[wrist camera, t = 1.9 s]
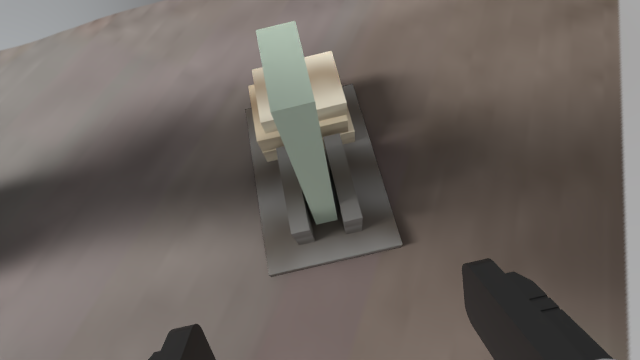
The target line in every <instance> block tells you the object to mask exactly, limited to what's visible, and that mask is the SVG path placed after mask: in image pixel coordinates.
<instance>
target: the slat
mask: <svg viewBox="0 0 640 360" xmlns="http://www.w3.org/2000/svg"><path fill="white" fill-rule="evenodd" d="M256 34H257V39H258V45H259V51H260V56H261V62H262V67H263V73H264V79H265V84H266V90H267V95H268V101H269V107H270V112H271V115H272V117H273V119H274V122H275V124H276V127H277V129H278V132H279V134H280V137H281V139H282V142H283V144H284V146H285V149H286V151H287V154H288V156H289V159H290V161H291V164H292V166H293V169H294V171H295V173H296V176H297V178H298V181H299V183H300V186H301V188H302V191H303V193H304V196H305V198H306V200H307V203H308V205H309V208H310V210H311V213H312V215H313V218H314V220H315V223H316V225H317V224H322V223H326V222H330V221H335V220H338V219H337V214H336V208H335V203H334V198H333V193H332V188H331V182H330V177H329V172H328V167H327V161H326V156H325V151H324V146H323V141H322V135H321V130H320V125H319V120H318V114H317V109H316V104H315V99H314V95H313V91H312V87H311V83H310V79H309V75H308V71H307V67H306V63H305V59H304V55H303V51H302V47H301V43H300V39H299V35H298V31H297V27H296V22H295V21H293V22H288V23H284V24H280V25H276V26H272V27H267V28H263V29H259V30H256Z"/></svg>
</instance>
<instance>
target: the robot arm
mask: <svg viewBox="0 0 640 360" xmlns="http://www.w3.org/2000/svg"><path fill="white" fill-rule="evenodd" d="M462 275H463V288H464V300H465V308H466V312H467V315H468V317H469V320H470V322H471V324H472V326H473V327H474V329H475V331H476V332H477V334H478V335H479V337H480V338H481V340H482V341H483V343H484V344H485V346H486V348H487V349H488V351H489V352H490V354H491V355H492V357H493V358H494V360H615V359H613V358H612V357H611V356H609V355H608V354H607V353H606V352H605V351H604V350H603V349H602V348H601V347H600V346H599V345H598V344H597V343H596V342H595V341H594V340H593V339H592V338H591V337H590V336H589V335H588V334H587V333H586V332H585V331H584V330H583V329H582V328H581V327H579V326H578V325H577V324H576V323H575V322H574V321H573V320H572V319H571V318H570V317H569V316H568V315H567V314H566V313H565V312H564V311H563V310H560V309H559V306H558V305H557V304H556V303H555V302H554V301H553V300H552V299H551V298H548V297H547V295H546V294H545V293H544V292H543V291H542V290H541V289H540V288H539V287H538V286H537V285H536V284H535V283H534V282H533V281H531V280H529V279H527V278H525V277H523V276H522V275H520V274H518V273H516V272H510V273H506V274H505V273H504V272H503V271H502V270H501V269H500V268H499V267H498V266H497V265H496V264H495V262H494V261H493V260H491V259H489V258H487V259H483V260H479V261H474V262H470V263H465V264H463V266H462ZM148 360H216V359H215V357H214V355H213V353H212V350H211V348H210V346H209V344H208V342H207V339H206V337H205V335H204V333H203V330H202V328H201V327H200V326H199V325H198V324H194V325H190V326H185V327H181V328H176V329H172V330H171V331H170V332H169V333H168V335H167V337H166V340H165V342H164V344H163V347H162V349H161V351H158V352H154V353H153V355H152V356H151V357H150V358H149V359H148Z"/></svg>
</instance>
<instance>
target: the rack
mask: <svg viewBox="0 0 640 360" xmlns="http://www.w3.org/2000/svg"><path fill="white" fill-rule="evenodd" d="M304 59H305V63H306V67H307V71H308V75H309V79H310V83H311V87H312V91H313V95H314V99H315V104H316V109H317V114H318V120H319V125H320V130H321V135H322V141H323V146H324V151H325V156H326V161H327V167H328V172H329V177H330V182H331V188H332V193H333V198H334V203H335V208H336V214H337V219H338V220H335V221H330V222H326V223H322V224H317V225H316V223H315V220H314V218H313V215H312V213H311V210H310V208H309V205H308V203H307V200H306V198H305V196H304V193H303V191H302V188H301V186H300V183H299V181H298V178H297V176H296V173H295V171H294V169H293V166H292V164H291V161H290V159H289V156H288V154H287V151H286V149H285V146H284V144H283V142H282V139H281V137H280V134H279V132H278V129H277V127H276V124H275V122H274V119H273V117H272V115H271V112H270V107H269V101H268V95H267V90H266V84H265V79H264V73H263V67H261V68H257V69H253V70H252V74H253V80H254V85H251V86H248V87H249V94H250V100H251V107H252V108H248V109H245V112H246V119H247V126H248V133H249V140H250V147H251V154H252V161H253V168H254V175H255V182H256V189H257V196H258V203H259V210H260V217H261V224H262V231H263V238H264V246H265V253H266V260H267V267H268V274H269V276H271V277H273V276H277V275H282V274H286V273H290V272H295V271H299V270H303V269H308V268H312V267H316V266H321V265H325V264H329V263H334V262H338V261H342V260H347V259H351V258H355V257H360V256H364V255H368V254H373V253H377V252H381V251H386V250H390V249H395V248H399V247H401V246H402V245H403V244H402V241H401V238H400V235H399V232H398V228H397V225H396V222H395V219H394V215H393V212H392V209H391V206H390V203H389V199H388V196H387V193H386V190H385V186H384V183H383V180H382V177H381V174H380V170H379V167H378V164H377V161H376V158H375V154H374V151H373V148H372V145H371V141H370V138H369V135H368V132H367V129H366V125H365V122H364V119H363V116H362V112H361V109H360V106H359V103H358V100H357V96H356V93H355V90H354V87H353V84H350V85H346V86H342V85H341V82H340V78H339V75H338V71H337V68H336V65H335V61H334V58H333V54H332V51H329V52H324V53H320V54H316V55H312V56H308V57H304Z"/></svg>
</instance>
